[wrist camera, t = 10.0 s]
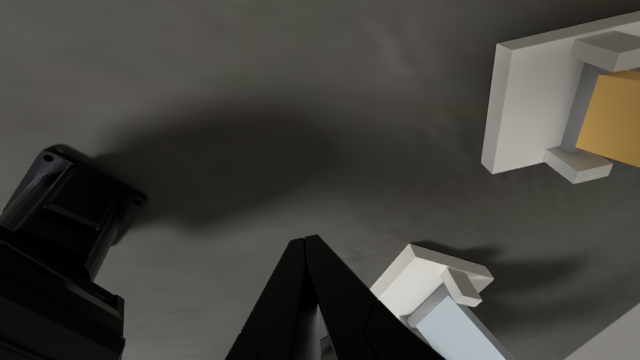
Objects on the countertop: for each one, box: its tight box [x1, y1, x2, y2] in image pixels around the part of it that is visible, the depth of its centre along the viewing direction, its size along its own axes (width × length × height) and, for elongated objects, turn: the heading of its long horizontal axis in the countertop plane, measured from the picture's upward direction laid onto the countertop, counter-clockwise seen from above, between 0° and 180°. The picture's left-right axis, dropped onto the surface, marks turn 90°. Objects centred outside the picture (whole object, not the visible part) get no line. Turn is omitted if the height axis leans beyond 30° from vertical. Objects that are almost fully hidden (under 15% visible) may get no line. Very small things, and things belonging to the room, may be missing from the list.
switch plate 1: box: [370, 244, 494, 343], centre depth 32 cm, size 10×9×5 cm
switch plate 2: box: [481, 11, 640, 184], centre depth 22 cm, size 10×9×5 cm
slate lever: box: [407, 283, 515, 360], centre depth 29 cm, size 1×6×12 cm, turn 152°
